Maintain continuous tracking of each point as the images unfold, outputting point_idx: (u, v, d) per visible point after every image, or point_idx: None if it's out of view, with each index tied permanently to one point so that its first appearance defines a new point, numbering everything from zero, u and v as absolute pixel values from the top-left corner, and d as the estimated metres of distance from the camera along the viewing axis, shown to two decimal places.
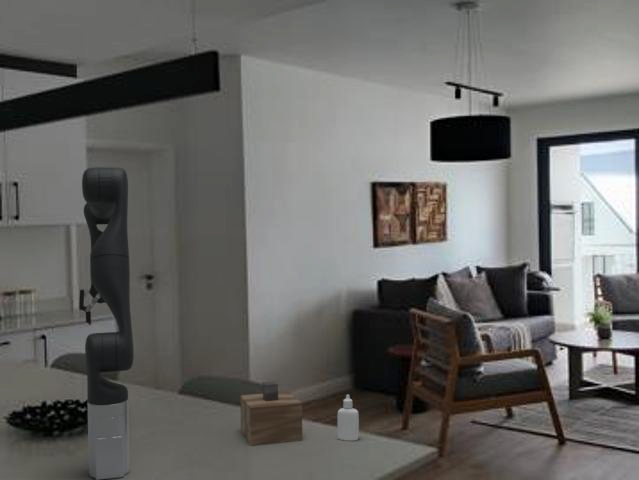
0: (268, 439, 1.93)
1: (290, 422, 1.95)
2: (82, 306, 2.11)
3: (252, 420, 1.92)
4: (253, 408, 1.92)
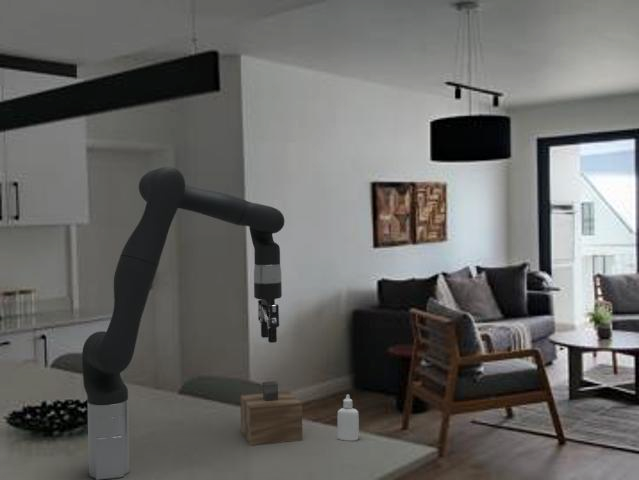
0: (268, 439, 1.93)
1: (290, 422, 1.95)
2: None
3: (252, 420, 1.92)
4: (253, 408, 1.92)
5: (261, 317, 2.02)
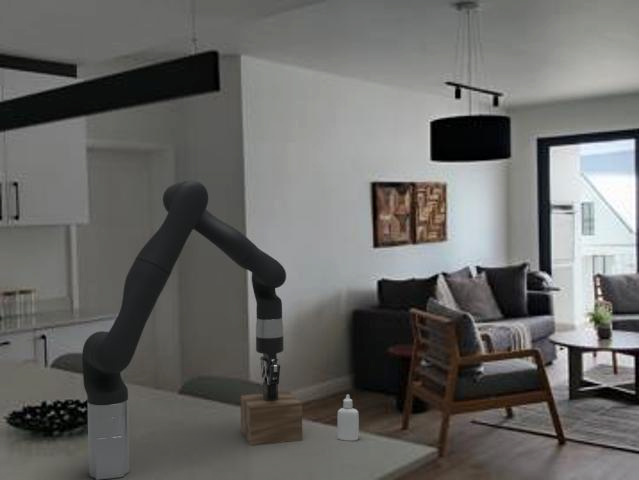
0: (268, 439, 1.93)
1: (290, 422, 1.95)
2: None
3: (252, 420, 1.92)
4: (253, 408, 1.92)
5: (264, 373, 2.01)
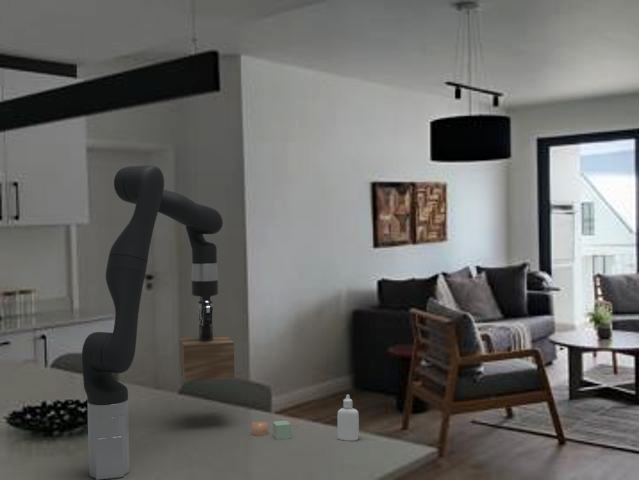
0: (201, 376, 2.05)
1: (222, 360, 2.06)
2: None
3: (185, 357, 2.03)
4: (186, 346, 2.03)
5: None
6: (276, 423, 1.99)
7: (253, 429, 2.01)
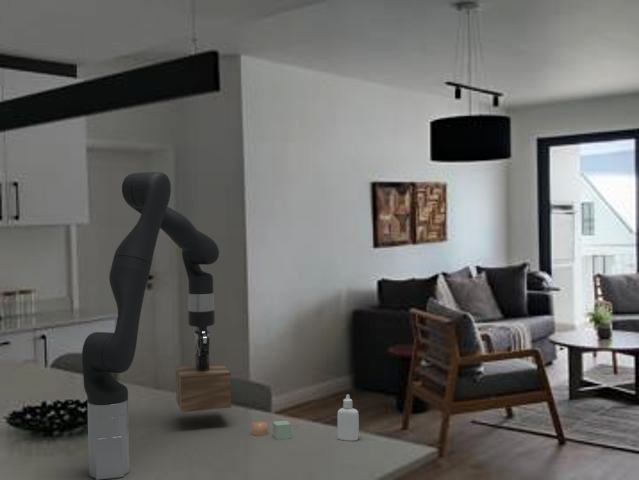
0: (198, 406, 2.06)
1: (219, 390, 2.07)
2: None
3: (182, 388, 2.04)
4: (183, 377, 2.04)
5: (197, 345, 2.14)
6: (276, 423, 1.99)
7: (253, 429, 2.01)
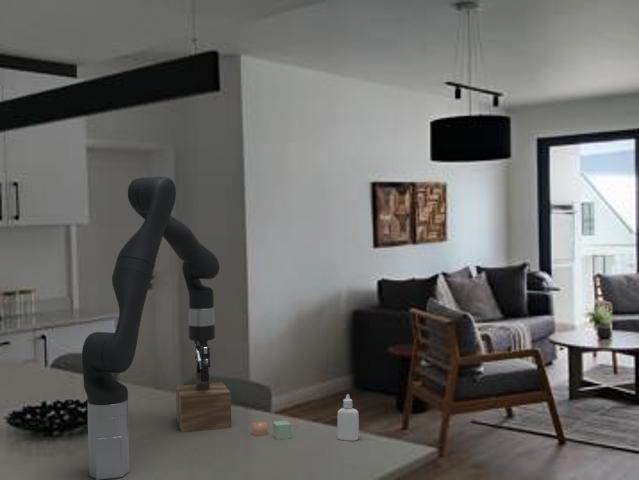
0: (198, 426, 2.06)
1: (219, 410, 2.07)
2: None
3: (183, 408, 2.04)
4: (184, 397, 2.04)
5: (196, 357, 2.15)
6: (276, 423, 1.99)
7: (253, 429, 2.01)
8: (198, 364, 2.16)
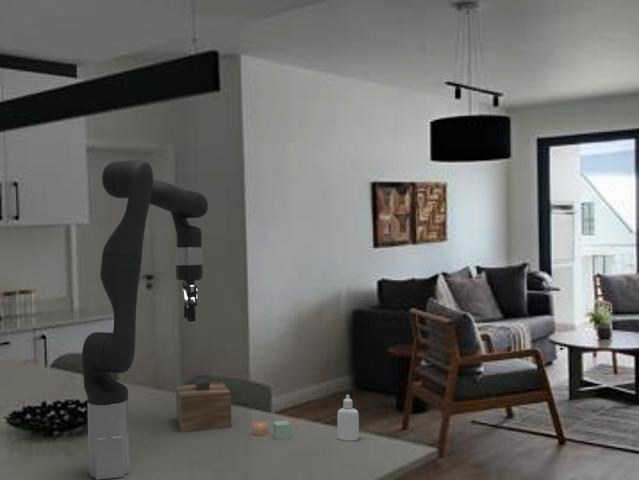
0: (198, 426, 2.06)
1: (219, 410, 2.07)
2: None
3: (183, 408, 2.04)
4: (184, 397, 2.04)
5: (184, 299, 2.12)
6: (276, 423, 1.99)
7: (253, 429, 2.01)
8: (185, 306, 2.13)
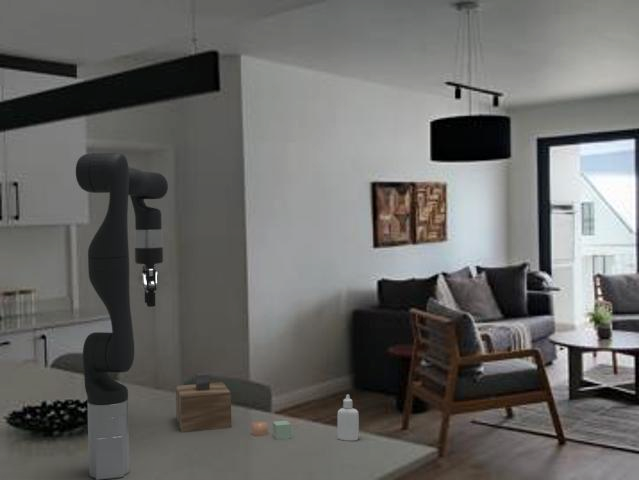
0: (198, 426, 2.06)
1: (219, 410, 2.07)
2: None
3: (183, 408, 2.04)
4: (184, 397, 2.04)
5: None
6: (276, 423, 1.99)
7: (253, 429, 2.01)
8: (146, 291, 2.05)
